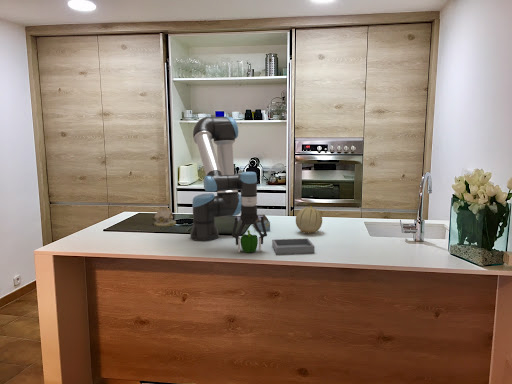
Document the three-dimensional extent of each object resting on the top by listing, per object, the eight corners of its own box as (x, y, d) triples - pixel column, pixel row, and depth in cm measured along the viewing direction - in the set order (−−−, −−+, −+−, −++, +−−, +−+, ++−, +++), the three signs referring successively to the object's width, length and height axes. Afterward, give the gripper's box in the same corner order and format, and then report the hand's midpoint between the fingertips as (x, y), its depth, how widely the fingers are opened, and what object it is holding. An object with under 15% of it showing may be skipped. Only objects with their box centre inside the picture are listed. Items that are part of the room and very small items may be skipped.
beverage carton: (256, 232, 233) (256, 221, 232) (252, 224, 251) (252, 214, 250) (270, 231, 234) (270, 220, 233) (265, 224, 253) (264, 213, 252)
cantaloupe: (295, 236, 224) (295, 209, 221) (296, 229, 238) (296, 204, 236) (322, 236, 222) (322, 209, 219) (321, 230, 236) (322, 204, 234)
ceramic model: (150, 225, 251) (149, 209, 249) (160, 221, 261) (159, 206, 259) (170, 227, 246) (169, 211, 244) (179, 223, 256) (179, 207, 255)
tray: (276, 254, 191) (276, 247, 190) (272, 246, 204) (272, 239, 204) (314, 253, 192) (314, 246, 192) (307, 245, 206) (307, 238, 206)
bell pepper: (256, 254, 191) (256, 233, 190) (239, 253, 193) (238, 233, 191) (259, 249, 200) (259, 229, 198) (242, 248, 201) (242, 228, 200)
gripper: (225, 207, 188) (226, 254, 191) (273, 205, 190) (273, 252, 194) (225, 204, 195) (226, 249, 199) (271, 202, 197) (271, 247, 201)
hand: (249, 251), depth 196 cm, fingers open, 9 cm apart
